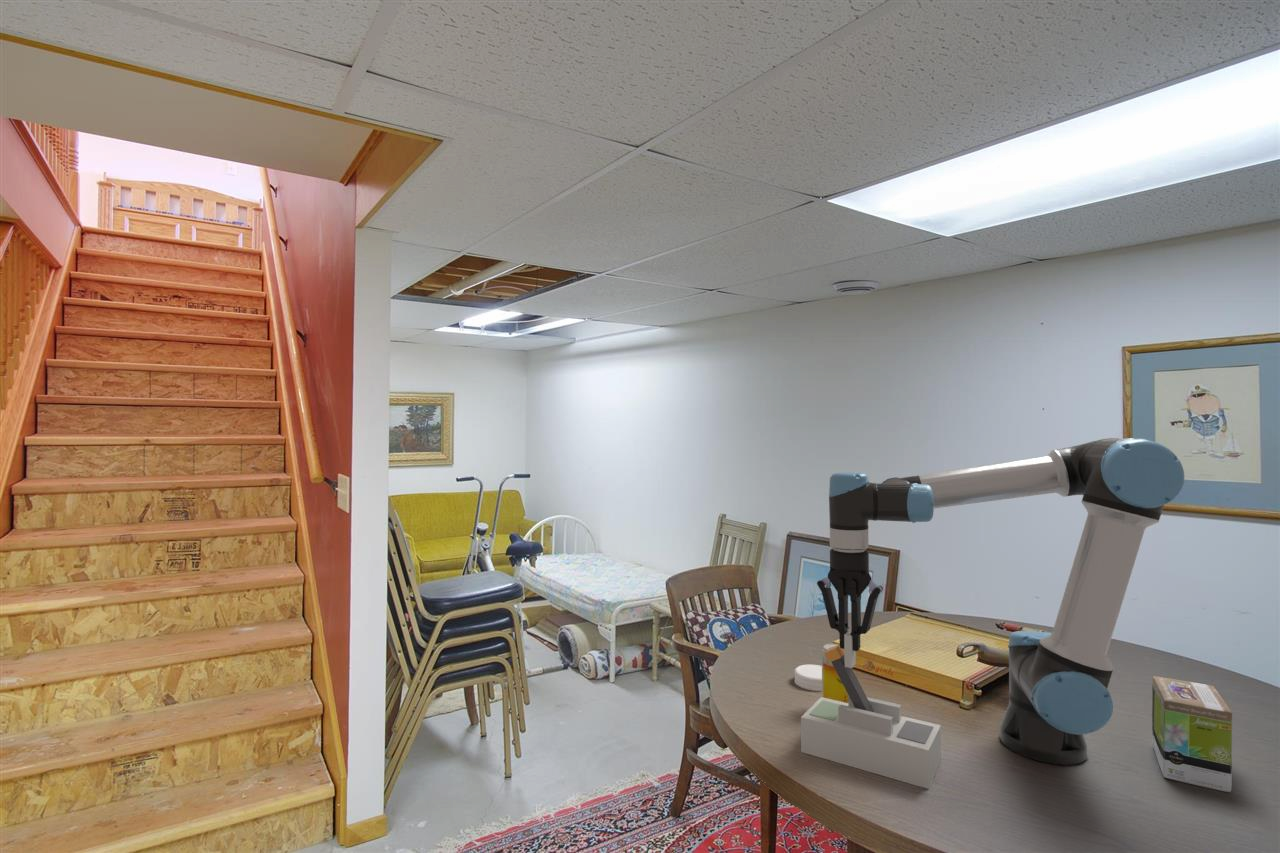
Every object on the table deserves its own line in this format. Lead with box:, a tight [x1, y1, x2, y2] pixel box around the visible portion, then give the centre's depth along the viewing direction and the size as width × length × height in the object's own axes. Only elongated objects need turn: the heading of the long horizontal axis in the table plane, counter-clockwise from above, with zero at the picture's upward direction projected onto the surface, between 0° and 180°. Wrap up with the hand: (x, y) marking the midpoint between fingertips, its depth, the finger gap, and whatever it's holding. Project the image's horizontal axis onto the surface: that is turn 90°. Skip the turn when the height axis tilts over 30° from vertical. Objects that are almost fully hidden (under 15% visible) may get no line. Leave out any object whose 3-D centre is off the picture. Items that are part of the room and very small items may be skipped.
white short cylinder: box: [794, 664, 822, 692], centre depth 165 cm, size 10×10×4 cm
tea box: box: [1151, 675, 1233, 793], centre depth 124 cm, size 15×10×15 cm
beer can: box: [821, 643, 849, 703], centre depth 148 cm, size 6×6×15 cm
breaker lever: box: [824, 643, 874, 712], centre depth 131 cm, size 3×4×14 cm
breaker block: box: [800, 696, 942, 790], centre depth 128 cm, size 24×12×10 cm, turn 55°
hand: (850, 665), depth 131 cm, fingers closed
